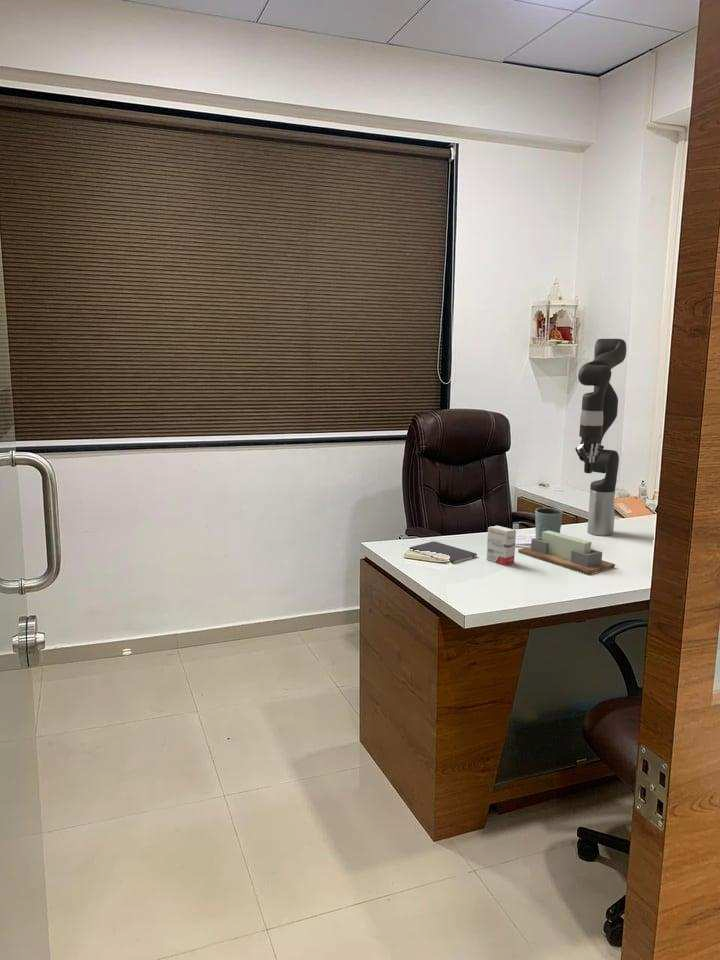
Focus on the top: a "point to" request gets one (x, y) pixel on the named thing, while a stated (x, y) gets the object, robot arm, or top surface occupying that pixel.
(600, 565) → the mounting board
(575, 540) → the pale green block
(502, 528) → the ink box
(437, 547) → the notebook
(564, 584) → the top surface
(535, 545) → the end cap
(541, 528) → the grey green cup
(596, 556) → the end cap
